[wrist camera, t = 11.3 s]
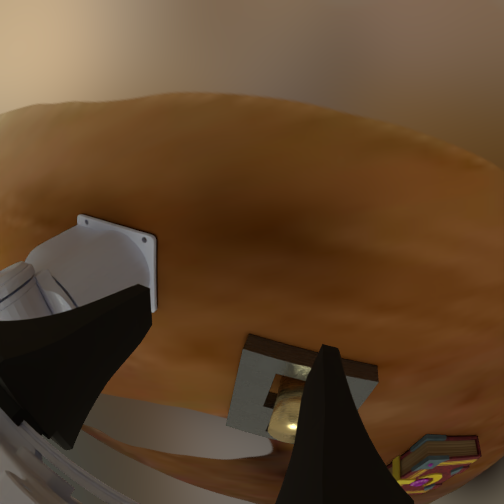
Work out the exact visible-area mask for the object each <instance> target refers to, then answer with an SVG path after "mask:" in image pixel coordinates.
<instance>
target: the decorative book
mask: <svg viewBox="0 0 504 504" xmlns="http://www.w3.org/2000/svg"><path fill="white" fill-rule="evenodd" d="M480 457H481V450H480V445H479V440H478V436H466V437H446V435H429V434H426V435H425V436H424V437H423V438H422V439H420V440H419V441H418V442H417V443H416V444H414V445H413V446H412V447H411V448H410V450H409V451H408V452H406V453H405V454H404V455H402V456H398V457H396V458H395V459H394V460H393V463H391V464H390V465H389V466H387V468H388V470H389V471H390V473H391V474H392V475H393V477H394V478H395V479H396V481H397V482H398V483H399V485H400V486H401V487H402V488H403V489H404V490H405V492H406V493H407V494H408V495H414V494H423V493H425V492H427V491H429V490H431V489H436V488H437V487H439V486H441V485H442V482H444V481H446V480H447V479H449V478H451V477H452V476H454V475H455V474H459V473H462V472H463V471H465V470H466V469H468V468H469V465H470V464H471V463H473V462H474V461H476V460H477V459H478V458H480Z"/></svg>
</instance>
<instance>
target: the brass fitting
mask: <svg viewBox="0 0 504 504" xmlns="http://www.w3.org/2000/svg"><path fill="white" fill-rule="evenodd" d="M305 382H306V381H303V380H299V379H295V378H291V377H288V376H284V375H283V376H282V378H281V382H280V386H279V390H278V394H277V397H276V401H275V405H274V408H273V412H272V416H271V419H270V423H269V426H268V433H269V434H270V435H271V436H272V437H273V438H275V439H277V440H279V441H282V442H286V443H294V441H295V435H296V429H297V423H298V416H299V410H300V403H301V398H302V394H303V390H304V386H305Z"/></svg>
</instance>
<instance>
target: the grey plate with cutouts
mask: <svg viewBox="0 0 504 504" xmlns="http://www.w3.org/2000/svg"><path fill="white" fill-rule="evenodd" d="M317 355H318V353H317V352H313V351H309V350H305V349H301V348H298V347H294V346H290V345H286V344H283V343H279V342H276V341H272V340H269V339H265V338H262V337H258V336H255V335H252V334H249V336H248V338H247V341H246V343H245V345H244V348H243V351H242V355H241V360H240V364H239V369H238V373H237V378H236V382H235V387H234V391H233V396H232V400H231V405H230V409H229V413H228V418H227V422H226V426H230V427H232V428H235V429H239V430H242V431H245V432H249V433H252V434H256V435H259V436H263V437H267V438H271V439H275V438H273V437H272V436H271V435H270V434H269V433H268V426H269V423H270V419H271V416H272V412H273V408H274V405H275V401H276V397H277V394H274V393H270V392H269V390H270V387H271V384H272V382H273V379H274V377H275V374H280V375H284V376H288V377H291V378H295V379H299V380H303V381H306V378H307V376H308V374H309V372H310V370H311V368H312V366H313V364H314V361H315V359H316V357H317ZM341 360H342V364H343V368H344V372H345V375H346V379H347V382H348V385H349V388H350V391H351V394H352V397H353V400H354V403H355V405H356V408H357V410H358V409H359V407H360V406H361V405H362V404H363V402H364V401H365V400H366V398H367V397H368V396H369V394H370V393H371V392H372V390H373V389H374V388H375V386H376V385H377V384H378V382H379V381H378V370H377V366H375V365H370V364H365V363H361V362H356V361H351V360H347V359H342V358H341ZM275 440H277V439H275ZM292 444H294V443H292Z"/></svg>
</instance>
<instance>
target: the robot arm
mask: <svg viewBox="0 0 504 504" xmlns="http://www.w3.org/2000/svg"><path fill="white" fill-rule="evenodd" d="M77 224H78V225H76V226H74V227H72V228H70V229H68V230H66V231H64V232H62V233H61V234H59V235H57V236H55V237H53V238H51V239H49V240H47V241H46V242H44V243H42V244H40V245H38V246H37V247H36V248H34V249H33V250H32V251H31V253H30V254H29V255H28V257H27V258H26V260H25V262H23V261H20V262H17V263H15V264H13V265H11V266H9V267H7V268H5V269H3V270H2V271H0V504H82V503H81V502H79V501H78V500H76V499H75V498H74V497H72V496H71V494H72V492H73V491H74V490H75V489H74V487H73V486H72V485H70V484H69V483H68V482H66V481H65V480H64V479H63V478H61V477H60V476H58V474H56V473H55V472H54V471H52V470H51V469H50V468H49V467H48V466H47V465H45V464H44V463H43V461H42V455H43V456H44V457H45V458H46V459H47V460H49V461H50V462H51V463H52V464H53V465H54V466H56V467H57V468H58V469H60V470H61V471H62V472H63V473H64V474H66V475H67V476H69V477H70V478H71V479H72V480H74V481H75V482H76V483H78V484H79V485H81V486H82V487H83V488H85V489H86V490H88V491H89V492H91V493H92V494H94V495H95V496H97V497H98V498H100V499H102V500H103V501H105V502H106V503H108V504H140V503H138V502H136V501H134V500H132V499H130V498H128V497H126V496H125V495H123V494H121V493H119V492H118V491H116V490H114V489H113V488H111V487H109V486H108V485H106V484H105V483H103V482H101V481H99V480H98V479H97V478H95V477H94V476H92V475H91V474H89V473H88V472H86V471H85V470H83V469H82V468H80V467H79V466H78V465H76V464H75V463H74V462H72V461H71V460H70V459H68V458H67V457H66V456H64V455H63V454H62V453H61V452H59V451H58V450H57V449H56V448H55V447H53V446H52V445H51V444H50V443H49V442H47V441H46V440H45V439H44V438H43V437H42V436H41V435H42V434H43V435H44V436H45V437H47V438H48V439H50V438H51V439H52V440H54V441H55V442H56V443H57V444H58V445H60V446H61V447H62V448H63V449H65V450H70V449H72V448H73V446H74V443H75V441H76V438H77V436H78V434H79V432H80V429H81V427H82V425H83V423H84V421H85V419H86V417H87V415H88V413H89V411H90V410H91V408H92V406H93V405H94V403H95V401H96V399H97V398H98V396H99V394H100V393H101V392H102V390H103V388H104V387H105V385H106V384H107V382H108V381H109V380H110V378H111V377H112V376H113V375H114V373H115V372H116V371H117V370H118V369H119V368H120V366H121V365H122V364H123V363H124V362H125V361H126V359H127V358H128V357H129V356H130V355H131V354H132V352H133V351H134V350H135V349H136V348H137V346H138V345H139V344H140V343H141V341H142V340H143V338H144V337H145V335H146V334H147V332H148V330H149V329H150V327H151V326H152V315H151V312H152V313H153V312H155V311H156V310H157V295H156V238H155V237H154V236H153V235H152V234H148V233H145V232H141V231H138V230H134V229H131V228H127V227H124V226H121V225H117V224H114V223H110V222H107V221H104V220H100V219H97V218H93V217H90V216H87V215H83V214H80V215H78V217H77ZM144 237H145V238H146V240H147V241H146V240H145V239H144ZM41 454H42V455H41ZM275 504H414V501H413V500H412V498H411V497H410V496H409V495H408V494H407V493H406V492H405V490H404V489H403V488H402V487H401V486H400V485H399V483H398V482H397V481H396V479H395V478H394V477H393V475H392V474H391V473H390V471H389V470H388V468H387V467H386V465H385V463H384V462H383V460H382V459H381V457H380V455H379V454H378V452H377V451H376V449H375V447H374V445H373V443H372V441H371V439H370V438H369V436H368V433H367V431H366V429H365V427H364V425H363V423H362V420H361V418H360V416H359V413H358V411H357V408H356V405H355V403H354V400H353V397H352V394H351V391H350V388H349V385H348V382H347V379H346V375H345V372H344V368H343V364H342V360H341V356H340V352H339V350H338V348H335V347H331V346H327V345H324V344H322V346H321V349H320V351H319V353H318V355H317V357H316V359H315V361H314V364H313V366H312V368H311V370H310V372H309V374H308V376H307V378H306V382H305V386H304V390H303V394H302V398H301V403H300V410H299V416H298V423H297V429H296V435H295V441H294V447H293V452H292V456H291V459H290V463H289V466H288V469H287V472H286V475H285V478H284V481H283V484H282V487H281V490H280V493H279V495H278V498H277V501H276V503H275Z"/></svg>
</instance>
